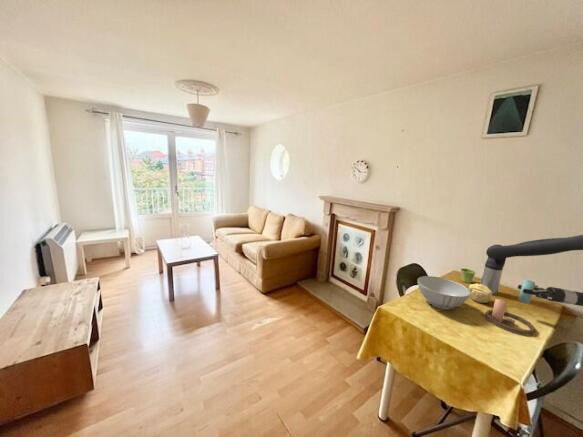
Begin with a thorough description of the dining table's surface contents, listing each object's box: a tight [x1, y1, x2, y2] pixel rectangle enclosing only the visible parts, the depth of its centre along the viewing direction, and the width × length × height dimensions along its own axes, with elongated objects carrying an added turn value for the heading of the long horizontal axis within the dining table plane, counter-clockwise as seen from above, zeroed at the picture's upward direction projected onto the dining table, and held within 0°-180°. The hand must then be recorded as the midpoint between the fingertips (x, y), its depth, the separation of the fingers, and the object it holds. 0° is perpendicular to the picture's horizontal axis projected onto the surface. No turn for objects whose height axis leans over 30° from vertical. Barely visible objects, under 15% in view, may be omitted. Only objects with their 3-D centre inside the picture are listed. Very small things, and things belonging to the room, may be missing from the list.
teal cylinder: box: [517, 279, 536, 304], centre depth 130 cm, size 5×5×12 cm
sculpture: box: [468, 282, 493, 304], centre depth 148 cm, size 12×12×11 cm
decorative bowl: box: [417, 275, 471, 310], centre depth 141 cm, size 27×27×12 cm
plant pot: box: [460, 267, 477, 284], centre depth 176 cm, size 9×9×9 cm
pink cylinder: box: [490, 298, 508, 324], centre depth 125 cm, size 5×5×12 cm
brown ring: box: [484, 309, 536, 336], centre depth 125 cm, size 19×19×2 cm
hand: (521, 288), depth 131 cm, fingers closed on teal cylinder, 4 cm apart
